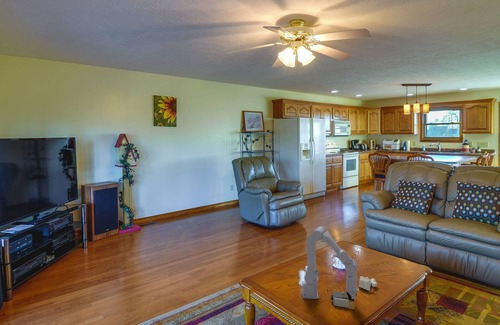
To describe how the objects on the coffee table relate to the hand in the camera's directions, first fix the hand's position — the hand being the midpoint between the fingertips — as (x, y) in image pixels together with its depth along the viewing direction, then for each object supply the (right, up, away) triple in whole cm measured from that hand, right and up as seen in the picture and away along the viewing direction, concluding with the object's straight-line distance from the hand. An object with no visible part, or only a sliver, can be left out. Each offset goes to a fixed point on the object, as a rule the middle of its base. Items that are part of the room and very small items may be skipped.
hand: (351, 304), depth 174 cm
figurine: (+13, +4, +17) cm, 22 cm away
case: (-5, -1, +5) cm, 7 cm away
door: (-4, -2, 0) cm, 5 cm away
